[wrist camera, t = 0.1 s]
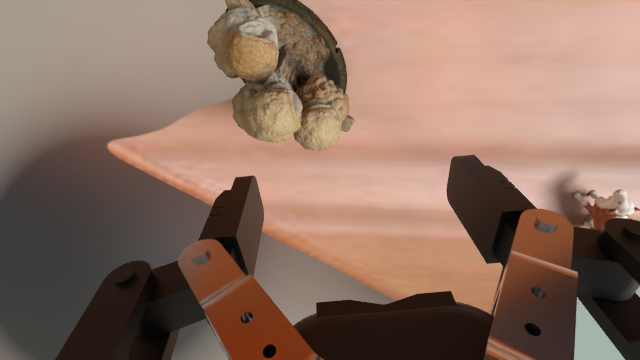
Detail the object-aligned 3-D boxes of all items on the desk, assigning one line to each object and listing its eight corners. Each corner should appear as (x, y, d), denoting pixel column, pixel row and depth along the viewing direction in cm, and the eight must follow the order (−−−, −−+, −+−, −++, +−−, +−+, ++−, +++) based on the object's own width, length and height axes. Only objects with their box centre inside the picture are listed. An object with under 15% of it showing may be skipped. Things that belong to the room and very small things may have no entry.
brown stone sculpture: (375, 74, 39) (413, 131, 25) (313, 137, 44) (316, 215, 30) (260, -43, 32) (222, -56, 18) (201, 46, 37) (134, 92, 23)
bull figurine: (597, 165, 48) (645, 197, 41) (605, 220, 54) (648, 255, 47) (567, 179, 49) (609, 211, 42) (579, 231, 55) (617, 266, 49)
